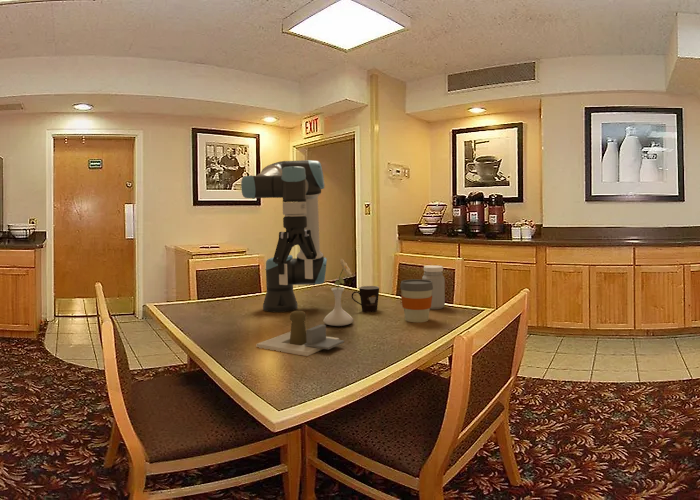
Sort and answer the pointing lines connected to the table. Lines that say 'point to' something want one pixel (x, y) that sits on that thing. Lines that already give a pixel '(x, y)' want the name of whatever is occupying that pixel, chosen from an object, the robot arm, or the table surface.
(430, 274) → the jar
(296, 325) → the olive brown pawn
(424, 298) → the reusable coffee cup
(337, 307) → the flower in vase
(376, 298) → the coffee mug
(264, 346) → the socket plate
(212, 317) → the table surface
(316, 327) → the grey bookend
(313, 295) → the table surface
